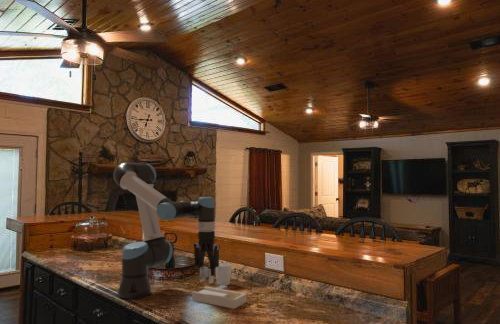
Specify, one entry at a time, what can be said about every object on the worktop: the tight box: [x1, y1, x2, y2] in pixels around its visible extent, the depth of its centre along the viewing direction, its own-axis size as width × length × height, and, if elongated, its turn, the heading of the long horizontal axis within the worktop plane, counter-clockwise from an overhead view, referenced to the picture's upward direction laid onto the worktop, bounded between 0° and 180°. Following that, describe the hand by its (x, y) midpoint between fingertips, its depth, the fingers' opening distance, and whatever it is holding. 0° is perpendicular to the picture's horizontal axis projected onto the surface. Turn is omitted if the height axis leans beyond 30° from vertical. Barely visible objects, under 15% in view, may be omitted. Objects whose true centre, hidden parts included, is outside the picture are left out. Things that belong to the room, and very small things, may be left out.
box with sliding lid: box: [191, 286, 247, 309], centre depth 168 cm, size 22×10×4 cm, turn 60°
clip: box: [199, 266, 209, 281], centre depth 172 cm, size 4×4×4 cm
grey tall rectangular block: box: [215, 285, 228, 290], centre depth 181 cm, size 4×8×2 cm, turn 150°
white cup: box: [215, 262, 232, 286], centre depth 195 cm, size 8×8×10 cm
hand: (206, 281), depth 172 cm, fingers closed on clip, 4 cm apart
